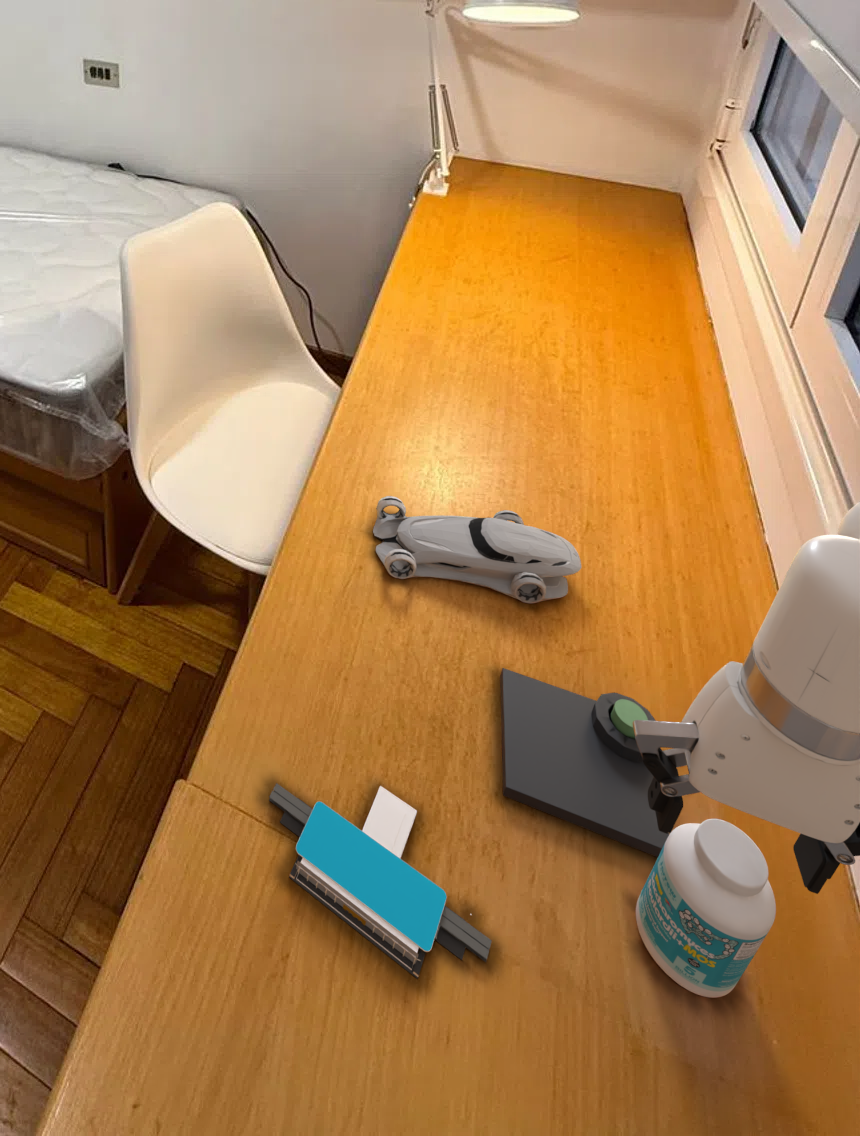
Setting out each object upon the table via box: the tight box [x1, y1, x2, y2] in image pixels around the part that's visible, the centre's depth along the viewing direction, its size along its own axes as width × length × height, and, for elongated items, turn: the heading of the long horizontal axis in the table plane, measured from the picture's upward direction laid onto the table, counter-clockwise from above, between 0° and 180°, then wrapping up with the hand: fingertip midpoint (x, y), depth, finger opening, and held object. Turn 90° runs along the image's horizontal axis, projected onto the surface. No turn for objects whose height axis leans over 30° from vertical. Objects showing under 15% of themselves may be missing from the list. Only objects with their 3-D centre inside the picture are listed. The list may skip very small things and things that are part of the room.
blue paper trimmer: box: [268, 782, 493, 980], centre depth 76 cm, size 20×12×2 cm, turn 53°
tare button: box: [611, 699, 648, 739], centre depth 85 cm, size 3×3×2 cm
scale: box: [499, 667, 670, 858], centre depth 84 cm, size 14×13×3 cm
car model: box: [372, 495, 582, 604], centre depth 106 cm, size 11×24×5 cm, turn 80°
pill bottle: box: [635, 818, 777, 999], centre depth 69 cm, size 8×7×14 cm
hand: (730, 841), depth 66 cm, fingers open, 9 cm apart
